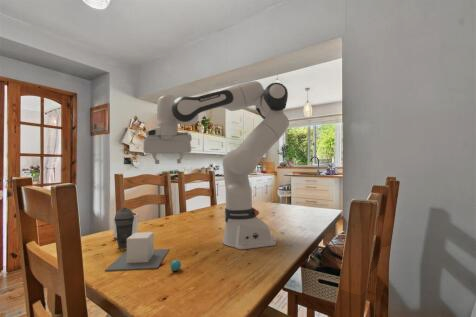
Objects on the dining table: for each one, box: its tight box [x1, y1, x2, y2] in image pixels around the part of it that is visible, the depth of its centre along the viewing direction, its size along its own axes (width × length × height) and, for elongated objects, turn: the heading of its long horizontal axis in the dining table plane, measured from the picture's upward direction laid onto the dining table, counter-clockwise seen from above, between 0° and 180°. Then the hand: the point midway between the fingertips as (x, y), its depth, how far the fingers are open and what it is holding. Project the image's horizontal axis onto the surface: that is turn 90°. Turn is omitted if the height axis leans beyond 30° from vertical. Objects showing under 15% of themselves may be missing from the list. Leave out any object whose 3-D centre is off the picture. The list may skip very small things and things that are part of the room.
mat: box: [104, 248, 170, 272], centre depth 79 cm, size 16×16×1 cm
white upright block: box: [126, 231, 155, 263], centre depth 79 cm, size 7×7×8 cm
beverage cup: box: [113, 197, 134, 250], centre depth 93 cm, size 7×7×20 cm
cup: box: [113, 212, 139, 240], centre depth 106 cm, size 10×10×10 cm
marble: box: [170, 259, 182, 272], centre depth 71 cm, size 3×3×3 cm
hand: (168, 163), depth 100 cm, fingers open, 8 cm apart
